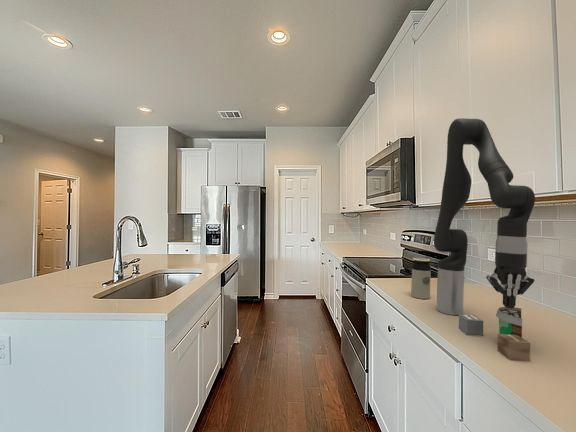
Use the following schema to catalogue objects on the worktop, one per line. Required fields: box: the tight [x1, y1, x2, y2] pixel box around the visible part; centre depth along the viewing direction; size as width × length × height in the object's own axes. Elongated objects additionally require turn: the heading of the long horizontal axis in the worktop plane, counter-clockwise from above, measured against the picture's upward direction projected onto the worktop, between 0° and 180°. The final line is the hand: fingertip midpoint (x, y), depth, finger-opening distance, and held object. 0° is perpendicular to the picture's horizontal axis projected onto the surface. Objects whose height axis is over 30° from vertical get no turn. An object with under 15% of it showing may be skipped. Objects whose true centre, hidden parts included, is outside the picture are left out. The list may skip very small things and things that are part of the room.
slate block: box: [458, 314, 484, 337], centre depth 92 cm, size 5×5×5 cm
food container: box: [495, 306, 523, 338], centre depth 85 cm, size 12×6×10 cm, turn 141°
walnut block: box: [497, 333, 531, 362], centre depth 77 cm, size 5×5×5 cm
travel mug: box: [411, 257, 432, 300], centre depth 131 cm, size 8×8×18 cm
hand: (508, 307), depth 85 cm, fingers closed
